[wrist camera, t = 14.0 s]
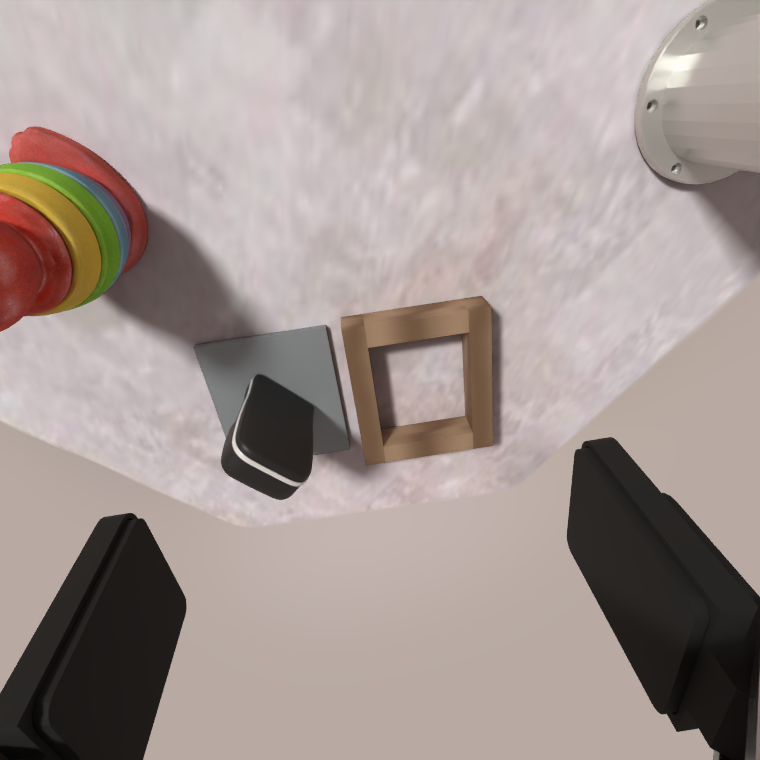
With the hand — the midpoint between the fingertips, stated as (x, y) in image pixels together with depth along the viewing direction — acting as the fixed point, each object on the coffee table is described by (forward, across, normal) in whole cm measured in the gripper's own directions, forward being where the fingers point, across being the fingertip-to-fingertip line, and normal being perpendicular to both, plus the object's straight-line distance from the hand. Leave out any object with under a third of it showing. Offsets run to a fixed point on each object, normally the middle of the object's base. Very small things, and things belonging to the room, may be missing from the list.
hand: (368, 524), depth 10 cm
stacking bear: (+33, +20, -3) cm, 39 cm away
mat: (+33, +9, +16) cm, 38 cm away
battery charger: (+33, +9, +16) cm, 38 cm away
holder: (+33, -5, +16) cm, 37 cm away
